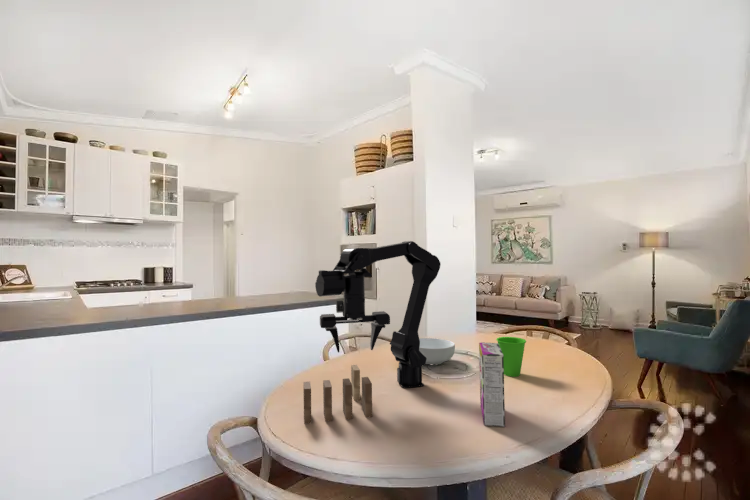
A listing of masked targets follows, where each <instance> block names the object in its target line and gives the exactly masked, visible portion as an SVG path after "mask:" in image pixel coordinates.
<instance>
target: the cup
mask: <svg viewBox="0 0 750 500" xmlns="http://www.w3.org/2000/svg"><path fill="white" fill-rule="evenodd" d="M495 341H497V343H498V344H499V346H500V349H501V351H502V353H503V355H504V356H503V360H504V376H507V377H514V378H517V377H519V376H520V375H521V372H522V365H523V358H524V351H525V346H526V343H527V340H526V339H524V338H523V337H522V338H521V337H517V336H499V337H496V339H495Z"/></svg>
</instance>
